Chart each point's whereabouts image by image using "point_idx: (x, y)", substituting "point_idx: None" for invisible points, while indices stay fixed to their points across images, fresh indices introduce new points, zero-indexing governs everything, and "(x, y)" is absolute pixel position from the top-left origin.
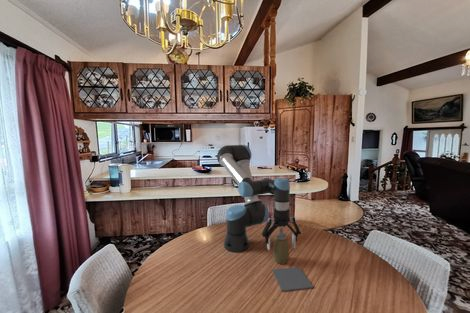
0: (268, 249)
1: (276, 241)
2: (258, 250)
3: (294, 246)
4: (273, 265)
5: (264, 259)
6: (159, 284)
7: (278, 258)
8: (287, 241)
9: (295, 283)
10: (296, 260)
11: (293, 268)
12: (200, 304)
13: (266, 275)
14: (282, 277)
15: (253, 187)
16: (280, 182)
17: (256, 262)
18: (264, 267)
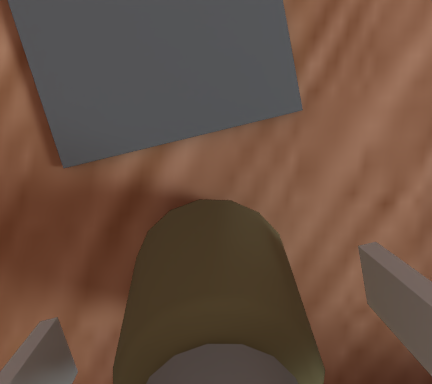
0: (380, 250)
1: (308, 330)
2: (380, 371)
3: (41, 331)
4: (280, 182)
5: (345, 256)
6: None
7: (245, 207)
8: (118, 354)
9: None
10: (80, 267)
11: (117, 140)
12: None
13: (354, 42)
14: (227, 5)
15: None
16: None
17: (416, 209)
18: (358, 148)
